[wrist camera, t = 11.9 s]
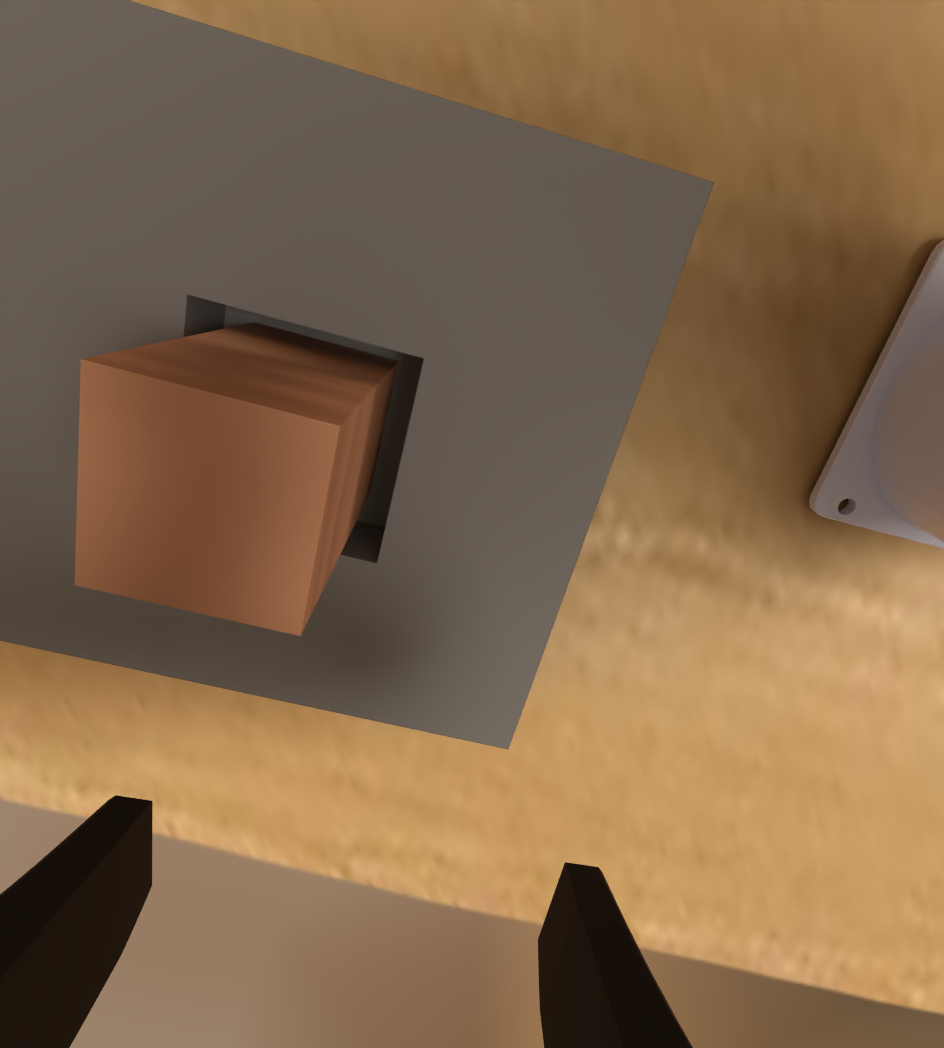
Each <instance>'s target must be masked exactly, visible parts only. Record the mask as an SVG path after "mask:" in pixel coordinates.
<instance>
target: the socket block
mask: <svg viewBox="0 0 944 1048" xmlns="http://www.w3.org/2000/svg"><path fill="white" fill-rule="evenodd" d="M713 184H714V182H712V181H708V180H705V179H702V178H699V177H695V176H692V175H689V174H686V173H683V172H679V171H676V170H673V169H670V168H666V167H663V166H660V165H657V164H654V163H650V162H647V161H644V160H641V159H637V158H634V157H631V156H628V155H625V154H621V153H618V152H615V151H612V150H609V149H605V148H602V147H599V146H596V145H592V144H589V143H586V142H583V141H580V140H576V139H573V138H570V137H567V136H563V135H560V134H557V133H554V132H551V131H547V130H544V129H541V128H538V127H535V126H531V125H528V124H525V123H522V122H518V121H515V120H512V119H509V118H506V117H502V116H499V115H496V114H493V113H489V112H486V111H483V110H480V109H477V108H473V107H470V106H467V105H464V104H461V103H457V102H454V101H451V100H448V99H444V98H441V97H438V96H435V95H432V94H428V93H425V92H422V91H419V90H415V89H412V88H409V87H406V86H403V85H399V84H396V83H393V82H390V81H387V80H383V79H380V78H377V77H374V76H370V75H367V74H364V73H361V72H358V71H354V70H351V69H348V68H345V67H341V66H338V65H335V64H332V63H329V62H325V61H322V60H319V59H316V58H313V57H309V56H306V55H303V54H300V53H296V52H293V51H290V50H287V49H284V48H280V47H277V46H274V45H271V44H267V43H264V42H261V41H258V40H255V39H251V38H248V37H245V36H242V35H238V34H235V33H232V32H229V31H226V30H222V29H219V28H216V27H213V26H210V25H206V24H203V23H200V22H197V21H193V20H190V19H187V18H184V17H181V16H177V15H174V14H171V13H168V12H164V11H161V10H158V9H155V8H152V7H148V6H145V5H142V4H139V3H136V2H132V1H129V0H0V641H5V642H10V643H14V644H19V645H24V646H28V647H33V648H38V649H42V650H47V651H52V652H56V653H61V654H66V655H70V656H75V657H80V658H84V659H89V660H94V661H98V662H103V663H108V664H112V665H117V666H122V667H126V668H131V669H136V670H140V671H145V672H150V673H154V674H159V675H164V676H168V677H173V678H178V679H182V680H187V681H192V682H196V683H201V684H205V685H210V686H215V687H219V688H224V689H229V690H233V691H238V692H243V693H247V694H252V695H257V696H261V697H266V698H271V699H275V700H280V701H285V702H289V703H294V704H299V705H303V706H308V707H313V708H317V709H322V710H327V711H331V712H336V713H341V714H345V715H350V716H355V717H359V718H364V719H369V720H373V721H378V722H383V723H387V724H392V725H397V726H401V727H406V728H410V729H415V730H420V731H424V732H429V733H434V734H438V735H443V736H448V737H452V738H457V739H462V740H466V741H471V742H476V743H480V744H485V745H490V746H494V747H499V748H504V749H509V746H510V743H511V740H512V738H513V735H514V732H515V729H516V727H517V724H518V721H519V718H520V716H521V713H522V710H523V707H524V705H525V702H526V699H527V696H528V694H529V691H530V688H531V685H532V683H533V680H534V677H535V674H536V672H537V669H538V666H539V663H540V661H541V658H542V655H543V652H544V650H545V647H546V644H547V641H548V638H549V636H550V633H551V630H552V627H553V625H554V622H555V619H556V616H557V614H558V611H559V608H560V605H561V603H562V600H563V597H564V594H565V592H566V589H567V586H568V583H569V581H570V578H571V575H572V572H573V570H574V567H575V564H576V561H577V559H578V556H579V553H580V550H581V548H582V545H583V542H584V539H585V537H586V534H587V531H588V528H589V525H590V523H591V520H592V517H593V514H594V512H595V509H596V506H597V503H598V501H599V498H600V495H601V492H602V490H603V487H604V484H605V481H606V479H607V476H608V473H609V470H610V468H611V465H612V462H613V459H614V457H615V454H616V451H617V448H618V446H619V443H620V440H621V437H622V435H623V432H624V429H625V426H626V424H627V421H628V418H629V415H630V412H631V410H632V407H633V404H634V401H635V399H636V396H637V393H638V390H639V388H640V385H641V382H642V379H643V377H644V374H645V371H646V368H647V366H648V363H649V360H650V357H651V355H652V352H653V349H654V346H655V344H656V341H657V338H658V335H659V333H660V330H661V327H662V324H663V322H664V319H665V316H666V313H667V310H668V308H669V305H670V302H671V299H672V297H673V294H674V291H675V288H676V286H677V283H678V280H679V277H680V275H681V272H682V269H683V266H684V264H685V261H686V258H687V255H688V253H689V250H690V247H691V244H692V242H693V239H694V236H695V233H696V231H697V228H698V225H699V222H700V220H701V217H702V214H703V211H704V209H705V206H706V203H707V200H708V197H709V195H710V192H711V189H712V186H713ZM253 322H257V323H260V324H264V325H268V326H271V327H275V328H279V329H282V330H286V331H290V332H294V333H297V334H301V335H305V336H308V337H312V338H316V339H319V340H323V341H327V342H331V343H334V344H338V345H342V346H345V347H349V348H353V349H356V350H360V351H364V352H368V353H371V354H375V355H379V356H382V357H386V358H390V359H393V360H397V361H399V362H398V367H397V371H396V376H395V381H394V385H393V390H392V395H391V399H390V404H389V408H388V413H387V418H386V422H385V427H384V432H383V436H382V441H381V446H380V450H379V455H378V459H377V464H376V469H375V473H374V478H373V483H372V487H371V492H370V494H369V496H368V498H367V500H366V502H365V505H364V507H363V509H362V511H361V513H360V515H359V517H358V519H357V521H356V523H355V525H354V527H353V529H352V531H351V533H350V535H349V537H348V539H347V542H346V544H345V546H344V548H343V550H342V552H341V554H340V556H339V558H338V560H337V562H336V564H335V566H334V568H333V570H332V572H331V574H330V577H329V579H328V581H327V583H326V585H325V587H324V589H323V591H322V593H321V595H320V597H319V599H318V601H317V603H316V605H315V607H314V609H313V611H312V614H311V616H310V618H309V620H308V622H307V624H306V626H305V628H304V630H303V632H302V634H301V636H298V635H293V634H289V633H285V632H280V631H276V630H271V629H267V628H262V627H258V626H254V625H249V624H245V623H240V622H236V621H231V620H227V619H223V618H218V617H214V616H209V615H205V614H200V613H196V612H192V611H187V610H183V609H178V608H174V607H169V606H165V605H161V604H156V603H152V602H147V601H143V600H138V599H134V598H130V597H125V596H121V595H116V594H112V593H107V592H103V591H99V590H94V589H90V588H85V587H81V586H76V585H75V555H76V518H77V482H78V445H79V408H80V372H81V359H83V358H88V357H93V356H97V355H102V354H107V353H112V352H116V351H121V350H126V349H130V348H135V347H140V346H145V345H149V344H154V343H159V342H164V341H168V340H173V339H178V338H183V337H187V336H192V335H197V334H201V333H206V332H211V331H216V330H220V329H225V328H230V327H235V326H239V325H244V324H249V323H253Z"/></svg>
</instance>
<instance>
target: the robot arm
mask: <svg viewBox="0 0 944 1048" xmlns="http://www.w3.org/2000/svg"><path fill="white" fill-rule="evenodd" d="M845 499H848V500H849V501H848V505H847V506H846V507H845V508H844V509H842V510H838V505H839V504H840V502H841V501H843V500H845ZM809 505H810V508H811V509H812V510H813V511H814V512H815V513H817V514H818V515H820V516H822V517H824V518H828V519H832V520H836V521H840V522H844V523H847V524H851V525H855V526H859V527H863V528H866V529H870V530H874V531H878V532H882V533H885V534H889V535H893V536H897V537H901V538H904V539H908V540H912V541H916V542H920V543H923V544H927V545H931V546H935V547H939V548H943V549H944V240H943V241H941V242H940V243H939V244H938V245H936V247H935V248H934V249H933V251H932V252H931V254H930V256H929V258H928V260H927V262H926V264H925V266H924V268H923V270H922V272H921V274H920V276H919V278H918V280H917V282H916V284H915V286H914V288H913V290H912V292H911V294H910V296H909V298H908V300H907V302H906V304H905V306H904V308H903V310H902V312H901V314H900V316H899V318H898V320H897V322H896V324H895V326H894V328H893V330H892V332H891V334H890V336H889V338H888V340H887V342H886V344H885V346H884V348H883V350H882V352H881V354H880V356H879V358H878V360H877V363H876V365H875V367H874V369H873V371H872V373H871V375H870V377H869V379H868V381H867V383H866V385H865V387H864V389H863V391H862V393H861V395H860V397H859V399H858V401H857V403H856V405H855V407H854V409H853V411H852V413H851V415H850V417H849V419H848V421H847V423H846V425H845V427H844V429H843V431H842V433H841V435H840V437H839V439H838V441H837V443H836V445H835V447H834V449H833V451H832V453H831V455H830V457H829V459H828V461H827V463H826V465H825V467H824V469H823V471H822V473H821V475H820V477H819V479H818V481H817V483H816V485H815V487H814V489H813V491H812V493H811V495H810V499H809ZM151 886H152V801H149V800H143V799H136V798H129V797H122V796H114V797H113V798H111V799H109V800H108V801H107V802H106V803H105V804H104V805H103V806H101V807H100V808H99V809H98V810H97V811H96V812H95V813H94V814H93V815H92V816H90V817H89V818H88V819H87V820H86V821H85V822H84V823H83V824H82V825H80V826H79V827H78V828H77V829H76V830H75V831H74V832H73V833H71V834H70V835H69V836H68V837H67V838H66V839H65V840H64V841H62V842H61V843H60V844H59V845H58V846H57V847H56V848H54V849H53V850H52V851H51V852H50V853H49V854H48V855H46V856H45V857H44V858H43V859H42V860H41V861H40V862H39V863H37V864H36V865H35V866H34V867H33V868H31V869H30V870H29V871H28V872H27V873H26V874H24V875H23V876H22V877H21V878H20V879H18V880H17V881H16V882H15V883H14V884H12V885H11V886H10V887H9V888H8V889H6V890H5V891H4V892H3V893H2V894H0V1048H69V1047H70V1046H71V1044H72V1042H73V1040H74V1038H75V1037H76V1035H77V1033H78V1031H79V1030H80V1028H81V1026H82V1024H83V1023H84V1021H85V1019H86V1017H87V1015H88V1013H89V1012H90V1010H91V1008H92V1007H93V1005H94V1003H95V1001H96V999H97V998H98V996H99V994H100V992H101V990H102V988H103V987H104V985H105V983H106V981H107V979H108V978H109V976H110V974H111V972H112V971H113V969H114V967H115V965H116V963H117V961H118V960H119V958H120V956H121V954H122V952H123V950H124V948H125V946H126V943H127V941H128V939H129V937H130V935H131V932H132V930H133V928H134V926H135V923H136V921H137V919H138V916H139V914H140V912H141V910H142V907H143V905H144V903H145V900H146V898H147V896H148V893H149V891H150V889H151ZM538 959H539V994H540V995H539V996H540V1013H541V1022H542V1031H543V1039H544V1048H693V1047H692V1046H691V1044H690V1042H689V1040H688V1038H687V1037H686V1035H685V1033H684V1031H683V1030H682V1028H681V1026H680V1024H679V1023H678V1021H677V1019H676V1017H675V1016H674V1014H673V1012H672V1010H671V1008H670V1006H669V1004H668V1003H667V1001H666V999H665V997H664V995H663V993H662V991H661V990H660V988H659V986H658V984H657V982H656V980H655V979H654V977H653V975H652V973H651V971H650V969H649V967H648V965H647V963H646V962H645V959H644V958H643V956H642V954H641V952H640V950H639V948H638V946H637V944H636V942H635V940H634V938H633V936H632V934H631V932H630V930H629V928H628V926H627V924H626V922H625V919H624V917H623V915H622V913H621V911H620V909H619V907H618V905H617V903H616V901H615V899H614V897H613V894H612V892H611V890H610V888H609V886H608V884H607V882H606V879H605V877H604V875H603V873H602V872H601V870H600V869H599V867H593V866H586V865H579V864H573V863H566V862H565V864H564V867H563V870H562V873H561V876H560V878H559V881H558V884H557V887H556V890H555V893H554V895H553V898H552V901H551V904H550V907H549V910H548V913H547V915H546V918H545V921H544V924H543V927H542V930H541V933H540V936H539V939H538Z"/></svg>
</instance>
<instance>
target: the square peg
mask: <svg viewBox="0 0 944 1048" xmlns="http://www.w3.org/2000/svg"><path fill="white" fill-rule="evenodd" d="M398 362H399V361H397V360H393V359H390V358H386V357H382V356H379V355H375V354H371V353H368V352H364V351H360V350H356V349H353V348H349V347H345V346H342V345H338V344H334V343H331V342H327V341H323V340H319V339H316V338H312V337H308V336H305V335H301V334H297V333H294V332H290V331H286V330H282V329H279V328H275V327H271V326H268V325H264V324H260V323H257V322H253V323H249V324H244V325H239V326H235V327H230V328H225V329H220V330H216V331H211V332H206V333H201V334H197V335H192V336H187V337H183V338H178V339H173V340H168V341H164V342H159V343H154V344H149V345H145V346H140V347H135V348H130V349H126V350H121V351H116V352H112V353H107V354H102V355H97V356H93V357H88V358H83V359H81V372H80V408H79V445H78V482H77V518H76V555H75V585H76V586H81V587H85V588H90V589H94V590H99V591H103V592H107V593H112V594H116V595H121V596H125V597H130V598H134V599H138V600H143V601H147V602H152V603H156V604H161V605H165V606H169V607H174V608H178V609H183V610H187V611H192V612H196V613H200V614H205V615H209V616H214V617H218V618H223V619H227V620H231V621H236V622H240V623H245V624H249V625H254V626H258V627H262V628H267V629H271V630H276V631H280V632H285V633H289V634H293V635H298V636H301V634H302V632H303V630H304V628H305V626H306V624H307V622H308V620H309V618H310V616H311V614H312V611H313V609H314V607H315V605H316V603H317V601H318V599H319V597H320V595H321V593H322V591H323V589H324V587H325V585H326V583H327V581H328V579H329V577H330V574H331V572H332V570H333V568H334V566H335V564H336V562H337V560H338V558H339V556H340V554H341V552H342V550H343V548H344V546H345V544H346V542H347V539H348V537H349V535H350V533H351V531H352V529H353V527H354V525H355V523H356V521H357V519H358V517H359V515H360V513H361V511H362V509H363V507H364V505H365V502H366V500H367V498H368V496H369V494H370V492H371V487H372V483H373V478H374V473H375V469H376V464H377V459H378V455H379V450H380V446H381V441H382V436H383V432H384V427H385V422H386V418H387V413H388V408H389V404H390V399H391V395H392V390H393V385H394V381H395V376H396V371H397V367H398Z"/></svg>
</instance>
